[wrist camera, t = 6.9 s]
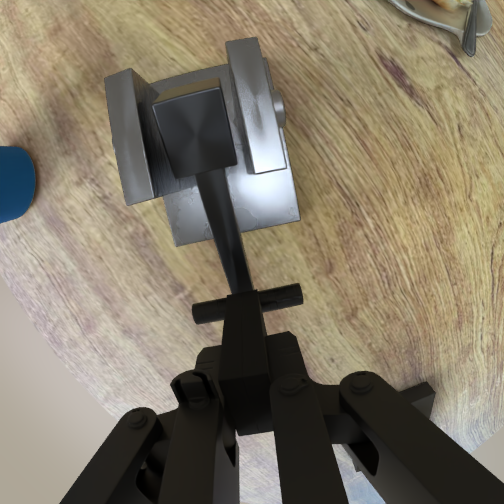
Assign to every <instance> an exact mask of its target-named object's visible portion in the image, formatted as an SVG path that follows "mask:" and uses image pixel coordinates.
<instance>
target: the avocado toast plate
mask: <svg viewBox="0 0 504 504" xmlns="http://www.w3.org/2000/svg"><path fill="white" fill-rule="evenodd" d="M387 1H388V2H390V3H391V4H392V5H394V6H395V7H396V8H397V9H399V10H400V11H401V12H403V13H405V14H406V15H408V16H410V17H412V18H414V19H416V20H418V21H420V22H422V23H425V24H429V25H433V26H436V27H440V28H443V29H445V30H448V31H450V32H452V33H454V34H455V35H456V36H457V37H458V38H459V41H460V44H461V47H462V49H463V51H464V52H465V53H466V54H467V55H468V56H470V57H473V56H474V55H475V51H476V37H478V36H484V35H485V34H487V33H488V31H489V30H490V28H491V26H492V17H491V14H490V11H489V8H488V6H487V4H486V2H485V0H387Z"/></svg>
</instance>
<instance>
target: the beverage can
mask: <svg viewBox="0 0 504 504" xmlns="http://www.w3.org/2000/svg"><path fill="white" fill-rule="evenodd" d="M34 191H35V170H34V165H33V162H32V160H31V158H30V156H29V155H28V153H27V152H26V151H25V150H24V149H22V148H20V147H12V146H0V223H3V222H6V221H10V220H13V219H17V218H19V217H21V216H22V215H23V214H24V213H25V212H26V211H27V210H28V208H29V206H30V204H31V202H32V199H33V196H34Z"/></svg>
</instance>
